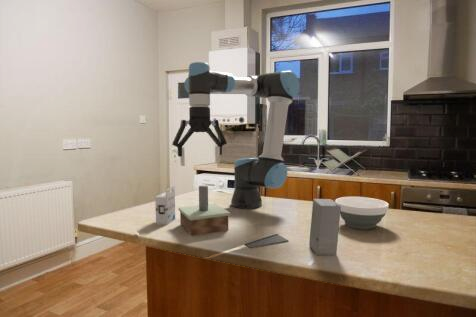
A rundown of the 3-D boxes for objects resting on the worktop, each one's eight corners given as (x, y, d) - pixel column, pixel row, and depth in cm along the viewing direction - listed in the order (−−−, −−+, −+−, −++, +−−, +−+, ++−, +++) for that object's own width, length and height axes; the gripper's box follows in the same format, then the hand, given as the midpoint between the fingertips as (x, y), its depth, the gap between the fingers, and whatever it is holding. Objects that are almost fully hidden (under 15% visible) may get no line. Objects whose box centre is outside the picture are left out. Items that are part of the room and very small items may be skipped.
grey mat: (265, 228, 126) (265, 227, 126) (288, 241, 113) (288, 240, 113) (229, 234, 120) (229, 233, 120) (249, 248, 107) (249, 247, 106)
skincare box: (308, 245, 109) (309, 198, 107) (329, 245, 110) (331, 197, 108) (317, 256, 101) (318, 204, 99) (339, 255, 101) (341, 204, 100)
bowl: (332, 230, 125) (333, 205, 124) (336, 216, 143) (336, 195, 142) (389, 236, 118) (390, 210, 117) (385, 221, 136) (386, 198, 135)
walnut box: (214, 222, 135) (214, 206, 134) (228, 232, 122) (228, 215, 122) (180, 226, 129) (180, 210, 128) (191, 237, 116) (191, 219, 116)
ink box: (164, 220, 138) (163, 184, 137) (175, 220, 137) (175, 185, 136) (155, 226, 130) (154, 188, 128) (167, 227, 129) (166, 189, 127)
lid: (214, 206, 135) (214, 181, 134) (230, 215, 122) (230, 188, 120) (178, 210, 128) (178, 184, 127) (190, 220, 115) (190, 191, 114)
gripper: (227, 107, 130) (227, 161, 132) (163, 106, 119) (164, 165, 121) (235, 106, 123) (235, 163, 125) (168, 105, 112) (169, 167, 115)
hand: (200, 164), depth 123 cm, fingers open, 13 cm apart
